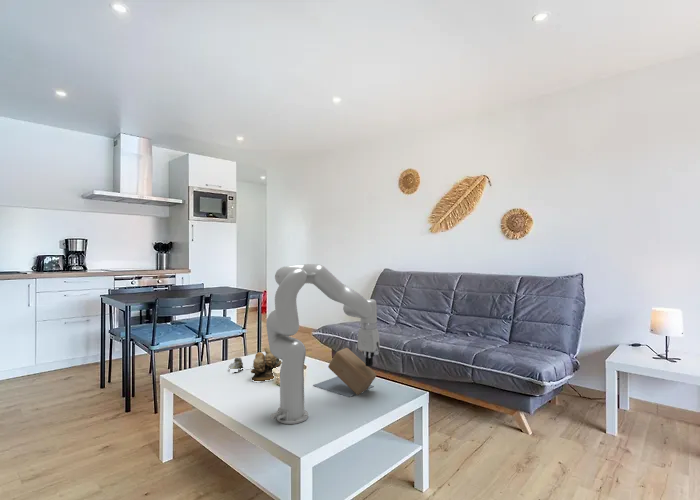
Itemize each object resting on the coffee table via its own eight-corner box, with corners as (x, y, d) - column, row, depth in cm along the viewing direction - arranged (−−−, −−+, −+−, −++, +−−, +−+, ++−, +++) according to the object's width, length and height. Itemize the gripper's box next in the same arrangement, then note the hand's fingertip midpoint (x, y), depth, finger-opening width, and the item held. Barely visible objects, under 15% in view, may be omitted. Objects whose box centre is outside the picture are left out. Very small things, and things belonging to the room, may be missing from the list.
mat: (349, 397, 180) (349, 396, 180) (313, 385, 195) (313, 385, 195) (374, 386, 193) (374, 385, 193) (338, 376, 209) (338, 376, 209)
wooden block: (357, 396, 180) (326, 367, 188) (367, 389, 189) (337, 361, 197) (368, 380, 177) (336, 351, 186) (378, 373, 186) (347, 346, 194)
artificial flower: (270, 372, 222) (268, 357, 219) (229, 380, 218) (226, 364, 215) (270, 364, 231) (267, 349, 228) (230, 371, 227) (227, 356, 224)
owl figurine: (275, 371, 220) (274, 341, 220) (287, 376, 212) (287, 344, 212) (246, 379, 207) (246, 346, 207) (258, 384, 199) (258, 350, 199)
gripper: (351, 325, 186) (351, 364, 186) (376, 329, 176) (376, 370, 176) (361, 323, 191) (362, 361, 191) (386, 326, 181) (387, 367, 181)
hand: (369, 365), depth 183 cm, fingers closed
